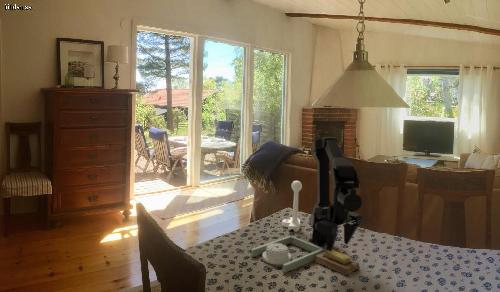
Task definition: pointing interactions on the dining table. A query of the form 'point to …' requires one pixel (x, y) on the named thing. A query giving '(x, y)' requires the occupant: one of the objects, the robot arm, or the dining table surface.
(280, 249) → the mechanical component
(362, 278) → the dining table surface
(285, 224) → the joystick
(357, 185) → the robot arm
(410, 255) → the dining table surface
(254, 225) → the dining table surface
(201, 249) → the dining table surface
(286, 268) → the green u-shaped frame
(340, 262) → the block
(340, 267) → the rectangular frame
